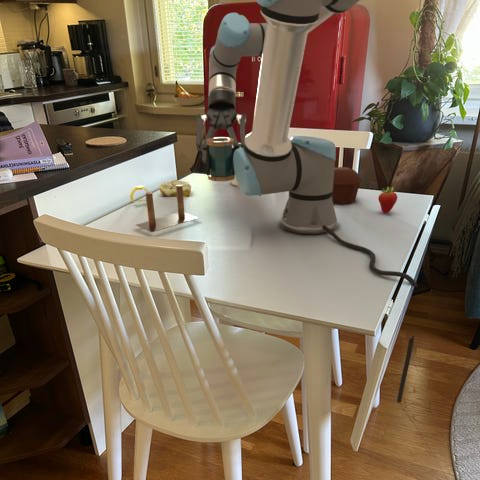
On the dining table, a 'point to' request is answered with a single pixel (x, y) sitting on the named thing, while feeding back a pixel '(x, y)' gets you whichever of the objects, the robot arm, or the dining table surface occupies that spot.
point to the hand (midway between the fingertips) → (220, 172)
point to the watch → (135, 190)
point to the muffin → (345, 185)
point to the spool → (220, 158)
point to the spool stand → (167, 220)
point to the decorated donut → (174, 188)
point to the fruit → (387, 199)
